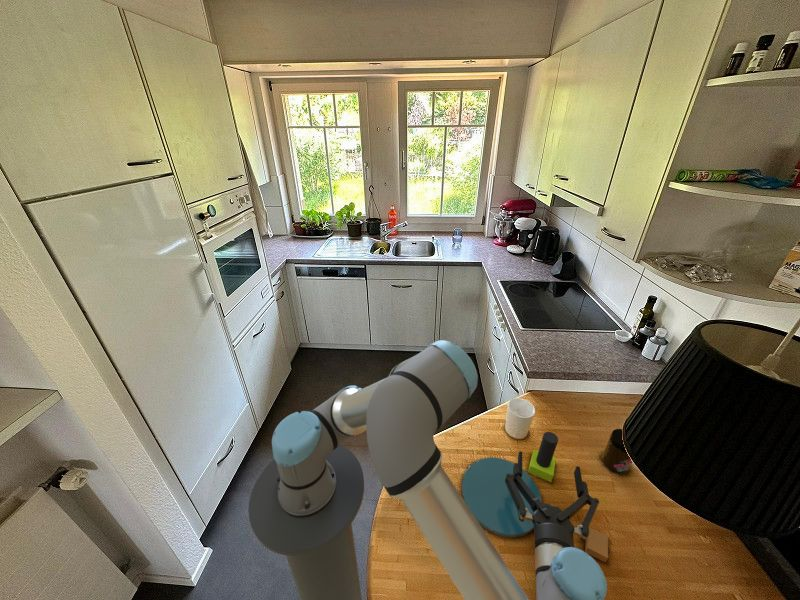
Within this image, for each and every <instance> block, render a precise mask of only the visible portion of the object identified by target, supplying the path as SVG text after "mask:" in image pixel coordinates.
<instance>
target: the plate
mask: <svg viewBox="0 0 800 600" xmlns="http://www.w3.org/2000/svg"><path fill="white" fill-rule="evenodd" d="M514 463H515V462H512V461H509V460H507V459H503V458H499V457H484V458H481V459H478V460H475V461H474V462H473V463H471V464H470V465H469V466H468V467H467V469H466V470H465V472H464V474H463V476H462V482H461V496H462V498H463V499H464V501H465V502H466V504H467V506H468V507H469V509H470V510H471V512H472V513H473V515H474V516H475V518H476V519H477V521H478V522H479V524H480V525H481V527H482V528H483V529H485V530H487V531H488V532H490V533H491V534H495V535H497V536H500V537H505V538H519V537H524V536H525V535H528V534H529V533H531V532H532V531H534V524H533V522H532V521H529V520H524V521H523V522H521V521H520V520H519V517H518V510H517V508H516V505H515V503H514V501H513V499H512V496H511V494H510V492H509V490H508V487H507V485H506V483H505V479H506V474H507V473H509V474H513V466H514ZM521 478H522V480H523V481H524V482H525V483H526V485H527V486H528V487H529V489H530V490H531V491H532V493H533V494H534V495H535V496H536V498H538V499H539V500H540V501H541V502H542V503H543V500H542V496H541V493H540V490H539V488H538V486H537V484H536V483H535V481H534V479H533V478H532V477H531V476H530V475H529V473H528V472H526V471H525V470H524V469H523V468H522V477H521ZM517 489H518V488H517ZM518 491H519V490H518ZM519 493H520V495H521V497H522V499H523V501H524V504H525V508H528V511H529V513H530V514H533V513H534V512H533V511H532V509H531V506H530V505H529V503H528V502H527V501H526V499H525V498H524V496H523V495H522V494H521V492H520V491H519Z"/></svg>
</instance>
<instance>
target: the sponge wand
mask: <svg viewBox="0 0 800 600" xmlns="http://www.w3.org/2000/svg"><path fill="white" fill-rule="evenodd" d="M558 443H559V437H558V436H557V434H555V433H554V432H551V431H545V432H544V433H543V435H542V439H541V442H540V445H539V449H538V450H537V449H534V448H533V450H532V453H531V458H530V461H529V466H528V470H527V474H530V475H533V476H535V477H537V478H539V479H541V480H544V481H546V482H548V483H552V482H553V478H554V475H555V468H556V467H555V466H556V461H557V458H556V457H554V455H555V452H556V449H557V445H558Z"/></svg>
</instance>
